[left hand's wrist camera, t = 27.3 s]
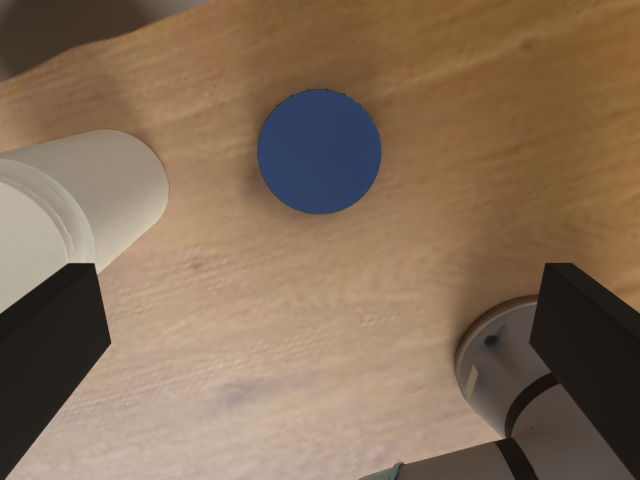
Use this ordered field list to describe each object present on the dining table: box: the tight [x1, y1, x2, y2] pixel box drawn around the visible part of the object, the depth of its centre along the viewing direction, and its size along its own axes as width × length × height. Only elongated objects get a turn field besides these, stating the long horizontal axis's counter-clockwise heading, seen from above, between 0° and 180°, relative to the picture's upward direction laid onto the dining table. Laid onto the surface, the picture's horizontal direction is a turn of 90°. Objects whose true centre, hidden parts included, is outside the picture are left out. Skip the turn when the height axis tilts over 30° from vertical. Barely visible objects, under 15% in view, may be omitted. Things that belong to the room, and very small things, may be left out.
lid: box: [258, 89, 381, 214], centre depth 36 cm, size 10×10×2 cm
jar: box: [0, 129, 169, 313], centre depth 31 cm, size 10×10×16 cm
